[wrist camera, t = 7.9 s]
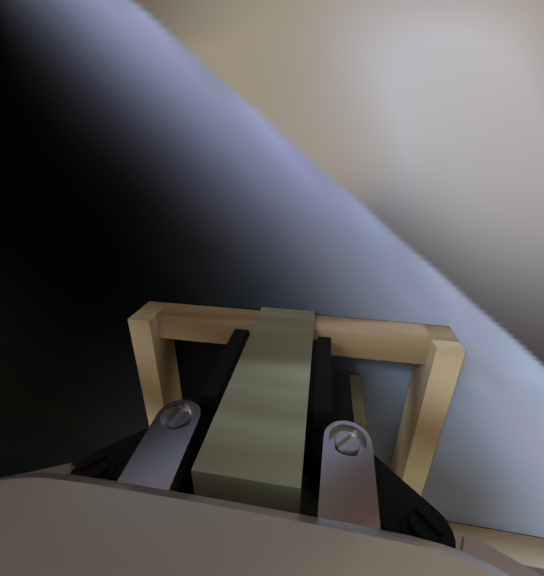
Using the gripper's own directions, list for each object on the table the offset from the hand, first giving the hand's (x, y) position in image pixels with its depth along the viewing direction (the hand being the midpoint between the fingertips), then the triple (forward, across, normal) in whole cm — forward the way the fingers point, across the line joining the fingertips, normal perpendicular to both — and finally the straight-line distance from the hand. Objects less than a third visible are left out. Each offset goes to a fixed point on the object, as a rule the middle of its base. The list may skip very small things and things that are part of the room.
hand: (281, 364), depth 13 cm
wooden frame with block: (+2, 0, +9) cm, 9 cm away
